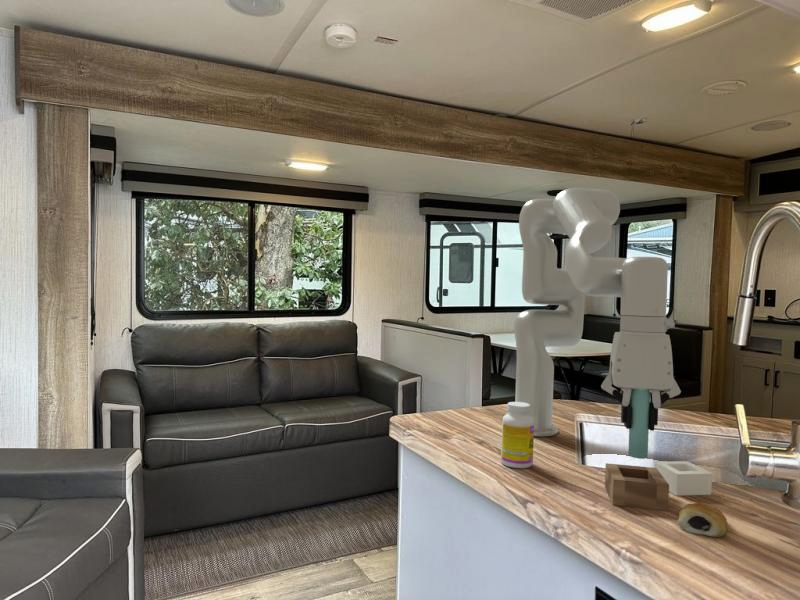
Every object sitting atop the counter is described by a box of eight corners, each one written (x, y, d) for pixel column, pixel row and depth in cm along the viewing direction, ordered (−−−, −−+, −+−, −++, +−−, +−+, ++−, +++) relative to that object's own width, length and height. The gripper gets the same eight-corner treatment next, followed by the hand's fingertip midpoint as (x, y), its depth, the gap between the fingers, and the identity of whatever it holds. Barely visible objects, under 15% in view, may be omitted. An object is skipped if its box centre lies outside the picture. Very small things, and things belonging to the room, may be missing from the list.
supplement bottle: (533, 470, 113) (535, 408, 113) (500, 467, 115) (502, 406, 114) (532, 460, 120) (534, 401, 120) (501, 457, 121) (503, 399, 121)
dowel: (626, 452, 101) (629, 376, 101) (645, 454, 101) (648, 377, 101) (629, 457, 98) (632, 379, 98) (649, 459, 98) (652, 380, 97)
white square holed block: (654, 481, 109) (654, 461, 109) (686, 481, 110) (687, 461, 110) (676, 495, 102) (677, 474, 102) (711, 494, 103) (712, 473, 103)
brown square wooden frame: (604, 486, 106) (605, 463, 105) (655, 491, 104) (656, 467, 104) (612, 504, 97) (613, 479, 97) (668, 510, 95) (669, 484, 95)
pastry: (686, 511, 95) (687, 490, 95) (731, 523, 91) (733, 500, 91) (675, 530, 88) (676, 506, 88) (724, 543, 84) (725, 519, 84)
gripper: (686, 326, 101) (682, 426, 101) (591, 323, 105) (588, 419, 105) (699, 329, 94) (695, 437, 94) (597, 325, 97) (593, 429, 98)
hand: (638, 427), depth 99 cm, fingers closed on dowel, 3 cm apart
